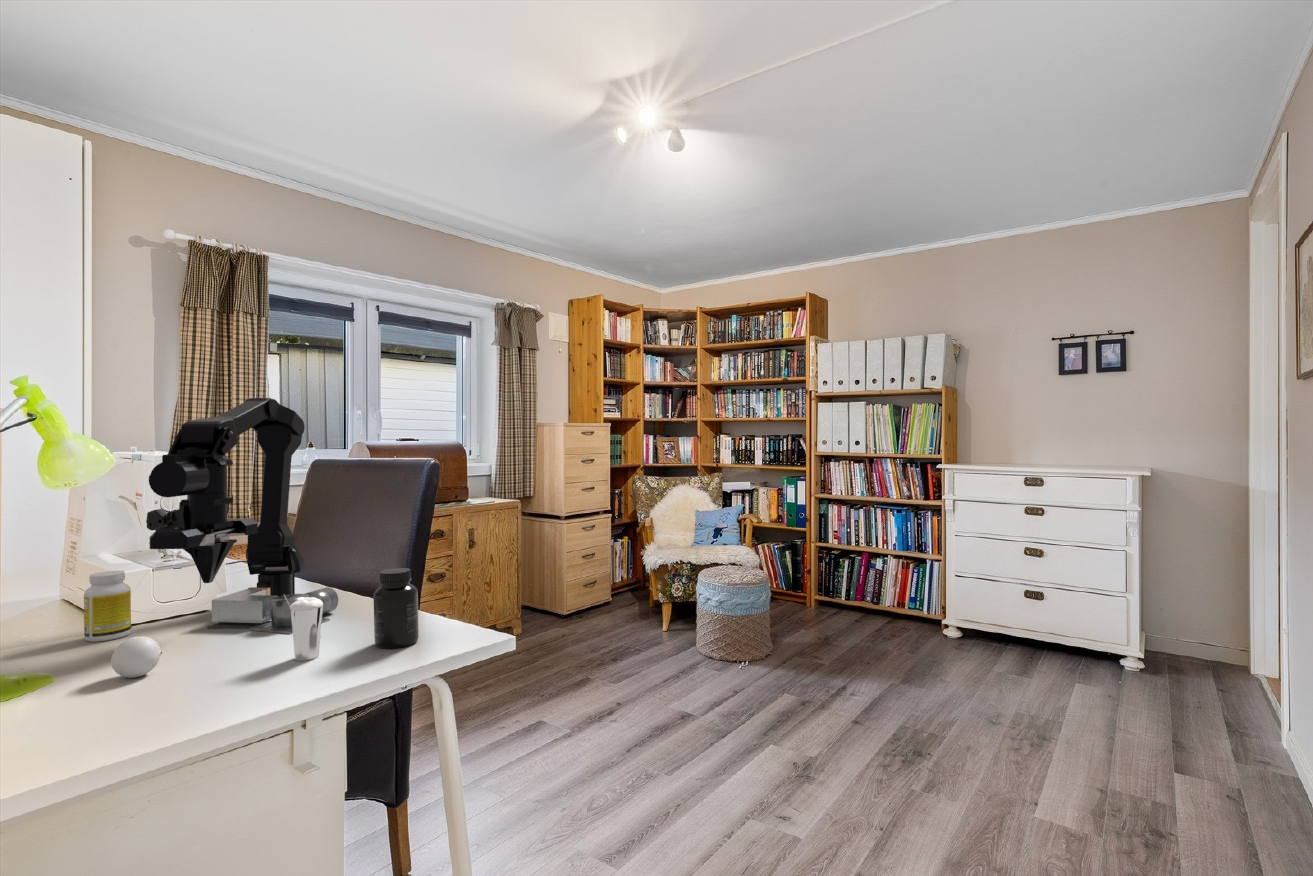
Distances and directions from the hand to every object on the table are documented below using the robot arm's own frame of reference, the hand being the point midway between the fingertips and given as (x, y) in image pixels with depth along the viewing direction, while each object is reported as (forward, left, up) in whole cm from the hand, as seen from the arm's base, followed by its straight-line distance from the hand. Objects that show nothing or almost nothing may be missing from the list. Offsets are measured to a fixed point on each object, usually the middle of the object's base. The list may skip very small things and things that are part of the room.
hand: (207, 582), depth 113 cm
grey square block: (-10, -1, -8) cm, 13 cm away
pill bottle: (+5, -16, -9) cm, 19 cm away
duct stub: (-11, +9, -9) cm, 17 cm away
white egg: (+17, +8, -9) cm, 21 cm away
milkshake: (+5, +26, -9) cm, 28 cm away
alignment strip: (-6, 0, -9) cm, 11 cm away
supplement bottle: (-5, +35, -9) cm, 36 cm away
